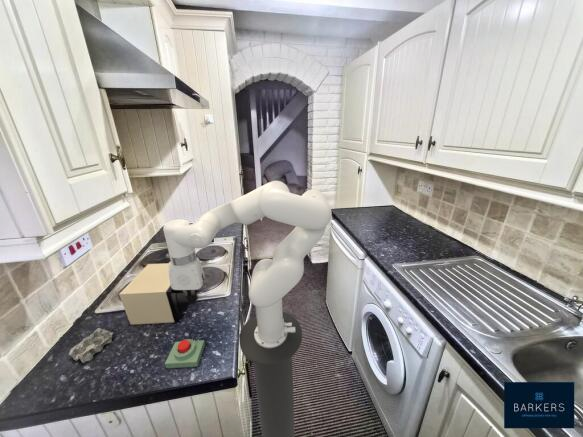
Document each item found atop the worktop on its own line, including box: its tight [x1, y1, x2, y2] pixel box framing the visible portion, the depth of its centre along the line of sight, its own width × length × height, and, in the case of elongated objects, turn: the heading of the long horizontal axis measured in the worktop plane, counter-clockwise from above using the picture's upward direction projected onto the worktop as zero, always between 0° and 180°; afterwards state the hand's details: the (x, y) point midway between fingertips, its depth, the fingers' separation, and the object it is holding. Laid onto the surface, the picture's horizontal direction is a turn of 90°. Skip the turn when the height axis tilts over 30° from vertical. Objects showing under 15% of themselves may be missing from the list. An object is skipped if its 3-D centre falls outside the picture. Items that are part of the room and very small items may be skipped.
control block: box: [164, 338, 206, 369], centre depth 76 cm, size 10×8×4 cm
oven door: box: [166, 286, 189, 323], centre depth 97 cm, size 6×20×15 cm, turn 3°
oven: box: [118, 262, 176, 325], centre depth 97 cm, size 17×20×15 cm
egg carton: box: [68, 327, 114, 364], centre depth 80 cm, size 11×8×4 cm
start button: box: [178, 339, 190, 353], centre depth 75 cm, size 4×4×2 cm
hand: (193, 301), depth 81 cm, fingers closed
